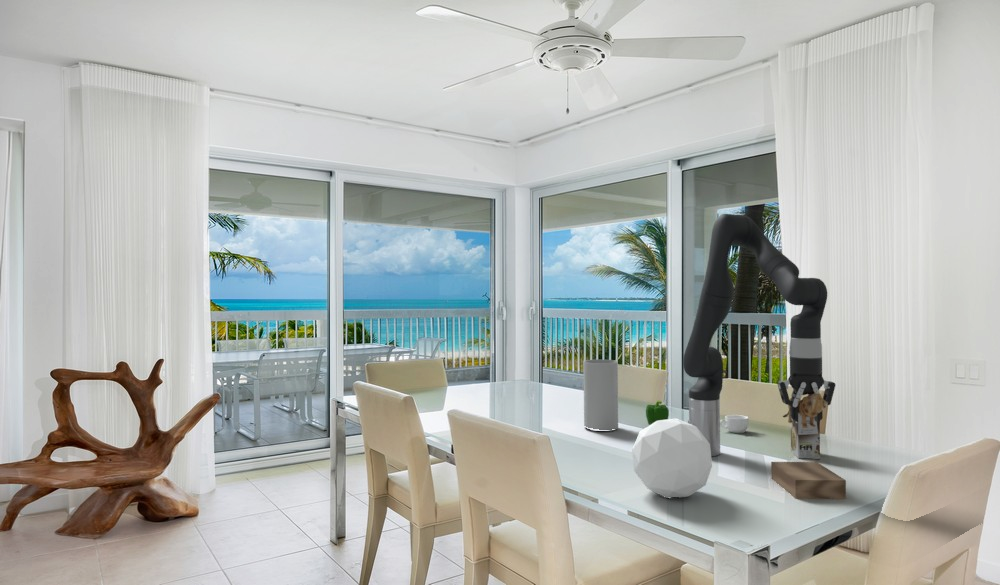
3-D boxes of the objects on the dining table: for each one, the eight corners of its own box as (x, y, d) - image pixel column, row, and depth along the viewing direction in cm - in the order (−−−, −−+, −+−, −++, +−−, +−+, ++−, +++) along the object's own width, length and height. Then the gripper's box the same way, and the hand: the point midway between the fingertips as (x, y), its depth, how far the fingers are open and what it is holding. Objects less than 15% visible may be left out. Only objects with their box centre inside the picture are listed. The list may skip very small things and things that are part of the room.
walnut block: (795, 500, 153) (795, 479, 153) (771, 480, 169) (771, 461, 169) (846, 500, 152) (845, 480, 152) (817, 480, 168) (816, 461, 168)
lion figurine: (831, 429, 156) (831, 393, 156) (813, 431, 154) (813, 395, 154) (790, 418, 170) (790, 385, 170) (774, 419, 169) (773, 386, 169)
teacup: (743, 429, 227) (743, 414, 227) (752, 434, 219) (751, 419, 219) (716, 429, 227) (716, 414, 227) (723, 434, 220) (723, 419, 220)
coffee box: (821, 459, 187) (820, 405, 187) (797, 458, 188) (797, 405, 188) (812, 451, 196) (811, 400, 196) (790, 450, 197) (789, 399, 197)
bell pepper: (645, 423, 238) (644, 397, 238) (667, 424, 237) (666, 398, 237) (647, 428, 230) (646, 401, 230) (670, 429, 229) (669, 402, 229)
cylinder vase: (621, 432, 225) (620, 363, 225) (586, 432, 225) (585, 363, 225) (615, 424, 237) (614, 359, 237) (582, 425, 238) (581, 359, 237)
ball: (675, 529, 152) (654, 477, 142) (629, 479, 169) (608, 429, 159) (736, 486, 155) (720, 432, 145) (685, 441, 172) (668, 390, 162)
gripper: (781, 356, 158) (782, 424, 158) (841, 356, 156) (841, 424, 156) (772, 353, 165) (772, 418, 165) (829, 353, 163) (829, 418, 163)
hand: (806, 420), depth 161 cm, fingers closed on lion figurine, 4 cm apart
